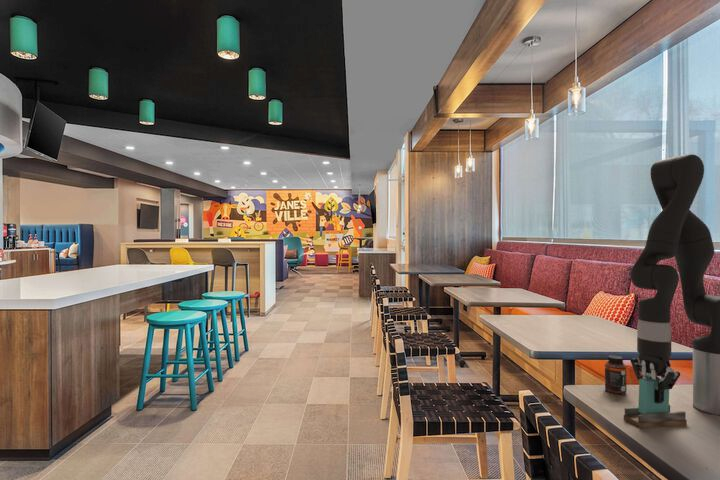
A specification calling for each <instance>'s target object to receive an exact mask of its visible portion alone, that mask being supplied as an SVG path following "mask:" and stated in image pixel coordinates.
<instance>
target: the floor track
mask: <svg viewBox="0 0 720 480" xmlns="http://www.w3.org/2000/svg"><path fill="white" fill-rule="evenodd" d="M686 412H687V411H684V410H681V411H671V405H670V404H669V412H667V413H655V414H642V413H640V412H638V406H634V407H624V414H623V421H627V422H628V423H630V424H632V425H633V426H635V427H638V428H639V429H650V428H653V429H654V428H660V427H673V426H674V427H675V426H682V425H683V426H684V425H685V426H686V425H687V424H688V423H687V422H688V420H687V419H686Z"/></svg>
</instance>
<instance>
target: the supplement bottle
mask: <svg viewBox="0 0 720 480" xmlns="http://www.w3.org/2000/svg"><path fill="white" fill-rule="evenodd" d="M607 358H608V361H605V363H604V364H605V365H604V388H605V390H606V391H607V392H609V393H611V394H616V395H625V394H626V393H627V388H628V386H627V366H626V364H625V363H624V359H623V356H620V355H619V356H618V355H614V354H613V355H611V354H610V355H608V357H607Z"/></svg>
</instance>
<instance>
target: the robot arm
mask: <svg viewBox="0 0 720 480" xmlns="http://www.w3.org/2000/svg"><path fill="white" fill-rule="evenodd" d="M704 174H705V165H704V162H703V160H702V158H700V157H699V156H698V155H697V154H692V153H689V154H683V155H678V156H674V157H669V158H664V159H659V160H657V161H655V162H654V163H653V164H652V165H651V168H650V180H651V184H652V186H653V189H654V192H655V194H656V197H657V200H658V202H659V205H660V207H661V211H660V213H658V215H657V216H656V217H655V218H654V220H653V221H652V223H651V225H650V227H649V230H648V233H647V237H646V240H645V241H646V242H645V247H644V248H643V250H642V251H641V254H640V255H639V256H638V257H637V260H636V261H635V263H634V265H633V266H632V269H631V271H630V280H631V282H632V284H633V285H634V286H635V287H636V288H639V289H640V290H641V289H643V290H651V291H656V293H655V295H654V296H653V297H645V298H641V299H639V300H638V305H637V306H638V307H637V308H638V310H637V311H638V317H637V318H638V321H637V327H636V334H637V335H636V351H637V353H638V356H637V357H636V358H630V360H629V361H630V363H631V366H632V369H633V371H634V375H635V377H636V379H637V381H639V379H652V380H653V381H654V388H655V389H654V402H655V403H657V404H658V403H663V402H664V390H667V389H669V390H672V389H673V388H674V386H675V385H676V383H677V381H678V380H679V378H680V377H681V373H680V372H679V371H678V370H677V371H675V370H674V369H673V368H672V367H671V363H670V358H671V357H672V325H671V306H672V303H673V300H674V296H675V293H676V290H677V289H678V285H679V282H680V286H681V294H682V295H681V296H682V301H683V308H684V312H685V314H686V318H687V319H689V321H690V322H691V323H693V324H696V325H698V326H699V325H700V326H704V327H709V328H710V327H711V328H710V334H709V335H706V336H698V337H697V336H696V337H694V338H693V339H692V406H693V407H694V408H695V409H698V410H700V411H702V412H706V413H709V414H712V415H717V416H720V295H712V294H711V295H710V294H707V292H706V289H705V284H704V276H705V273H706V272H707V270H708V267H709V266H710V264H711V262H712V260H713V257H714V256H715V246H714V242H713V238H712V234H711V231H710V228H709V227H708V226H707V225H706V223H705V222H704V221H703V220H701V218H699V217H698V216H697V215H696V214H695V213H694V212H693V211H692V210H690V209H691V207H692V205H693V203H694V200H695V199H696V196H697V194H698V191H699V189H700V187H701V184H702V181H703V179H704ZM674 257H675V262H676V266H677V267H676V268H677V269H676V268H675V267H674V266H672V265H670V264H660V263H659V262H661V261H662V260H669V259H671V258H674ZM658 263H659V264H658ZM659 381H660V385H659Z"/></svg>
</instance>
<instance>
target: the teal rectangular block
mask: <svg viewBox="0 0 720 480" xmlns="http://www.w3.org/2000/svg"><path fill="white" fill-rule="evenodd" d="M659 385H660V381H659ZM654 389H655V388H654V381H653V380H652V379H649V378H648V379H639V380H638V406H637V407H638V412H640V413H642V414H655V413H667V412H669V405H670V389H667V390H664V402H663V403H658V404H657V403H655V402H654Z"/></svg>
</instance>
